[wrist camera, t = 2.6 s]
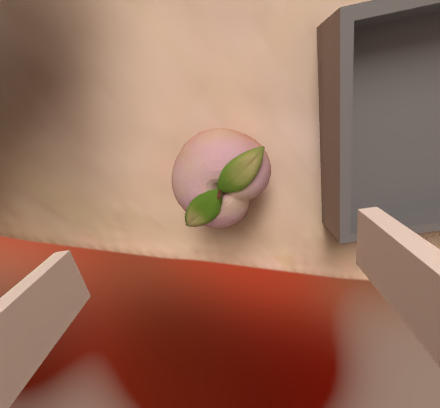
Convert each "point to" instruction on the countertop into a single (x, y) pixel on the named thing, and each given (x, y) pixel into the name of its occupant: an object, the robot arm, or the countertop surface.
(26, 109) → the countertop surface
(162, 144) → the countertop surface
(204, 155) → the decorative fruit
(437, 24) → the bin
